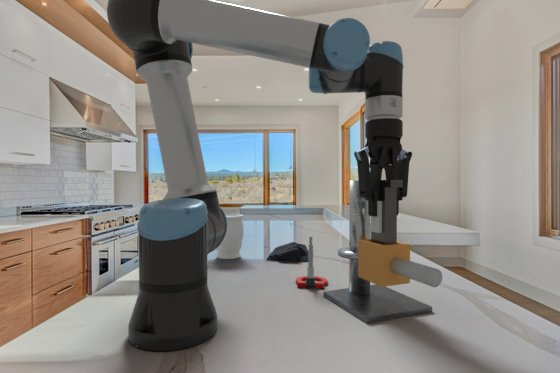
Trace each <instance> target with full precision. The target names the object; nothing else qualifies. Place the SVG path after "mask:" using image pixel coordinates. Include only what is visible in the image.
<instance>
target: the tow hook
mask: <svg viewBox="0 0 560 373" xmlns="http://www.w3.org/2000/svg"><path fill="white" fill-rule="evenodd" d="M308 243H309V244H308V249H307V250H308V262H307V263H308V265H307V269H306V270H307V271H306V272H307V275H303V276H297V277H296V278H295V283H296V284H297V286H296V287H297V288H303V289H304V288H306V289H324V287H325V286H327V285H328V279H327V278H325V277H322V276H315V267H314V245H313V236H309V240H308Z"/></svg>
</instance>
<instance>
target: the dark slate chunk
mask: <svg viewBox="0 0 560 373" xmlns="http://www.w3.org/2000/svg"><path fill="white" fill-rule="evenodd" d="M308 250H309V249H308V248H307V245H306V244H303V243H298V242H294V241H292V242H289V243H286V244H285V243H284V244H282V245H279V246H276V247H275V248H274V249H273V250H272V251H271V252H270V253H269V254H268V257H266V261H269V262H275V263H278V262H280V263H308Z"/></svg>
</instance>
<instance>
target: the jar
mask: <svg viewBox="0 0 560 373" xmlns="http://www.w3.org/2000/svg"><path fill="white" fill-rule="evenodd" d="M225 215H226V219H227V232H226V235H225V237H224V239H223V241H222V243H221V244H220V245H219V246H218V247H217V248H216V249H215V250H216V252H217V254H216V258H218V259H220V260H235V259H239V258H240V257H241V253H240V252H241V249H242V247H243V239H244V223H243V219H244V214H239V213H225Z"/></svg>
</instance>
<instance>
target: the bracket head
mask: <svg viewBox="0 0 560 373" xmlns="http://www.w3.org/2000/svg"><path fill="white" fill-rule="evenodd" d="M358 277H360V278H363V279H365V280H367V281H369V282H370V283H372V284H373V285H378V286H381V287H393V286H398V285H399V286H400V285H407V284H411V280H412V281H416V282H418V283H422V285H426V286H429V287H432V288H437V287H439V286H440V285H441V283H443V282H442V281H443V273H442V270H440V269H438V268H436V267H432V266H428V265H425V264H422V263H419V262H415V261H411V243H406V242H403V241H399V240H397V244H389V245H382V244H378V243H375V242H371V239H365V240H358Z"/></svg>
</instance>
